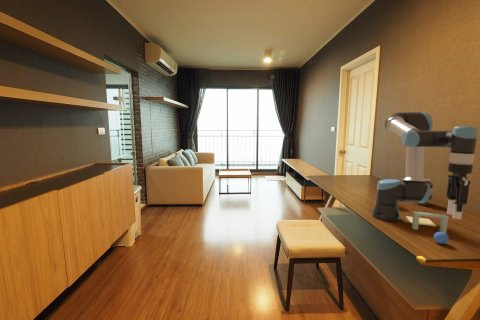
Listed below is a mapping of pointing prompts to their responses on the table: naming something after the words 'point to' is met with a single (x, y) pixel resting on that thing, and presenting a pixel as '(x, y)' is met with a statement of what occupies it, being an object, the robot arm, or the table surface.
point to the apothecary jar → (430, 194)
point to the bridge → (443, 217)
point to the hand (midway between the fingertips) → (453, 216)
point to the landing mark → (422, 221)
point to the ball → (441, 237)
